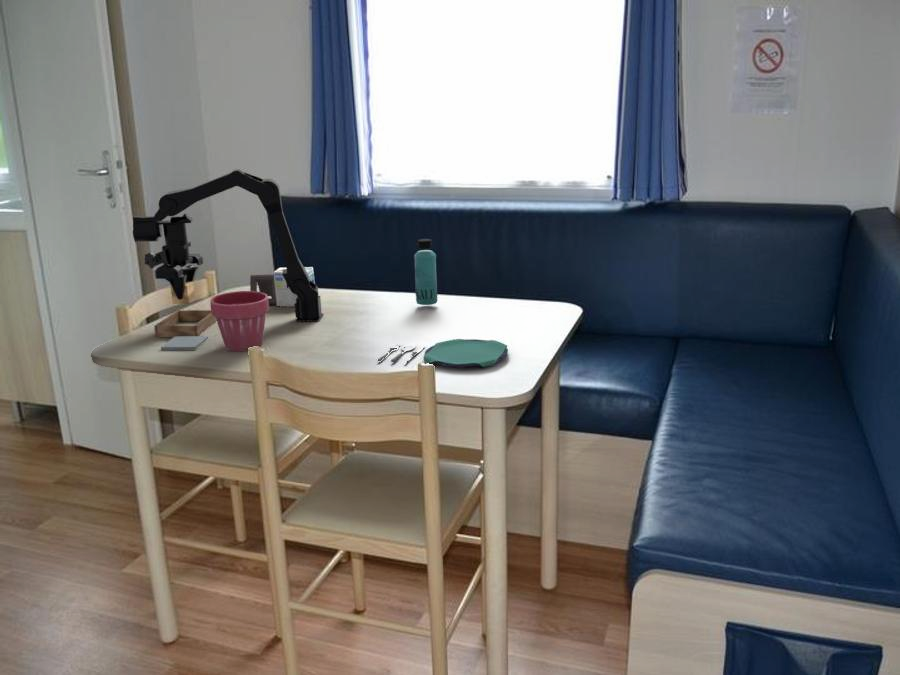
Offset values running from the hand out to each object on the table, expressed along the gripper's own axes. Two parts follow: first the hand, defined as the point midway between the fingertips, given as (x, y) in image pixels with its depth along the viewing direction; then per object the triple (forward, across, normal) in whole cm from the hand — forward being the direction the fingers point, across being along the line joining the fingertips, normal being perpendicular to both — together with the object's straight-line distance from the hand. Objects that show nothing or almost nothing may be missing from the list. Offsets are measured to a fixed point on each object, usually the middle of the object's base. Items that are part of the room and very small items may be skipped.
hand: (183, 297), depth 223 cm
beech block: (+1, 0, 0) cm, 1 cm away
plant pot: (+9, +16, +21) cm, 28 cm away
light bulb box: (+9, -24, +24) cm, 36 cm away
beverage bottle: (+9, -20, +64) cm, 68 cm away
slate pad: (+9, +14, +5) cm, 18 cm away
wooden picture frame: (+9, 0, 0) cm, 9 cm away
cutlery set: (+9, +24, +73) cm, 78 cm away
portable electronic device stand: (+9, -26, +14) cm, 31 cm away
